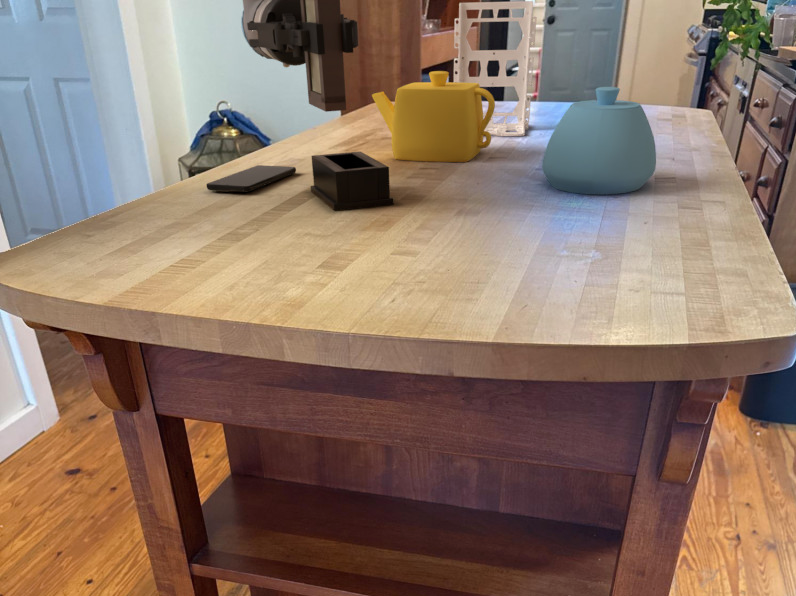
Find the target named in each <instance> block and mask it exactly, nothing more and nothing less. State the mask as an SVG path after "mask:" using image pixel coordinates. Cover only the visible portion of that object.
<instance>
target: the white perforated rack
mask: <svg viewBox="0 0 796 596" xmlns="http://www.w3.org/2000/svg"><path fill="white" fill-rule="evenodd" d="M458 6H459V8H458V17H457V18H454V34H453V35H454V37H453V39H454V43H453V48H454V49H457V50H458V52H457V53H458V55H457V57H455V58H453V82H455V83H479V85H480V88H488V87H489V88H491V87H492V88H494V87H497V88H499V87H500V88H501V87H502V88H503V87H506V88H507V87H514V91H515V92H516V95H517V98H518V101H517V103H516V105H515V107H514V109H513V111H512V112H493V115H492V117H491V119H490V121H489V123H488V125H487V127H486V128H485V130H484V131H487V132H489V133H490V135H491V136H495V137H522V136H525V135H526V131H528V130H529V128H530V127H529V126H530V125H529V123H530V115H531V114H530V113H531V102H532V101H531V100H532V96H531V95H528V87H532V85H533V71H534V57H533V56H530V54H531V53H530V52H531V48H535V45H536V44H535V43H536V31H537V16H533V8H534V1H533V0H522V1H521V0H520V1H519V0H518V1H483V2H482V1H479V2H478V1H477V2H459V4H458ZM519 9H520V10H522V9H524V13H523V17H521V16H520V17H513V10H519ZM470 10H471V11H475V10H479V11H478V16H477V18H476V17H475V18H474V17H473V18H468V12H467V11H470ZM483 10H492V14H493V17H482V13H483ZM499 10H509V17H498V14H499ZM533 20H534V21H533ZM457 21H458V23H457ZM495 22H499V23H500V22H517V23H518V25H519V28H520V31H521V32H522V35H523V36H522V37H521V39H520V42H519V44H518V45H517V47H516V49H492V50H491V49H489V50H488V49H485V50H484V49H483V50H480V49H479V50H473V49H472V48H471V45H470V43H469V41H468V38H467V35H468V33H469V31H470V29H471V27H472V25H473V23H495ZM532 32H533V33H532ZM457 33H458V34H457ZM456 44H457V45H456ZM530 60H532V61H530ZM456 61H457V62H456ZM489 61H498V66H499V70H498V75H497V76H489V75H488V65H489ZM508 61H517V65H518V69H517V73H516V75H515V76H511V75H510V76H507V70H506V68H507V63H508ZM470 62H479V64H480V71H479V75H478V76H470V73H469V66H470ZM530 71H531V72H530ZM529 82H530V83H529ZM528 98H529V99H528ZM527 109H528V110H527ZM486 113H487V112H483V117H485V115H486ZM493 117H504V118H503V123H501V122H500V123H494V118H493ZM508 117H517V123H516V122H515V123H512V122H511V123H506V122H507V118H508Z"/></svg>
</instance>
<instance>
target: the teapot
mask: <svg viewBox="0 0 796 596" xmlns="http://www.w3.org/2000/svg"><path fill="white" fill-rule="evenodd" d="M449 74H450V72H448V71H445V70H434V71H430V72H429V73H428V76H429V79H430V81H427V82H424V81H423V82H422V81H421V82H418V81H417V82H416V81H415V82H411V83H408V84H404V85H402V86H399V87H398V88H397V90H396V93H395V98H394V103H392V101H391V100H390V99H389V97H388V96H387V95H386V94H385V91H380V92H376V93H372V94H371V97H372V99H373V102H374V103H375V105H376V107H377V109H378V111H379V113H380V115H381V116H382V119H383V121H384V122H385V124H386V126H387V128H388V130H389V131H390V134H391V149H392V150H391V151H392V154H393V158H394V160H400V161H411V162H412V161H413V162H429V163H430V162H435V163H436V162H437V163H466V162H470V161H471V160H473V159H474V158H475V157H476V156H477V155H479V153H480V152H481V150H482V149H486V148H488V147H489V146H490V144H491V142H492V135H490V133H489V132H487V131H484V130H485V128H486V127H487V125H488V123H489V121H490V119H491V117H493V116H492V115H493V113H495V107H496V102H495V98H494V96H493V94H492V93H491V92H490V91H489V90H487V89H485V88H484V87H480V85H479V83H457V82H454V81H453V82H450V81H449V82H448V78H449ZM482 97H483V98H485V99H486V100H487V105H488V106H487V110H486V112H485V113H486V115H485V116H483V113H484V109H483V108H484V107H483V100H482ZM484 137H485V139H486V140H485V141H484Z"/></svg>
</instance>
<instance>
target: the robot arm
mask: <svg viewBox="0 0 796 596" xmlns="http://www.w3.org/2000/svg"><path fill="white" fill-rule="evenodd" d="M242 7H243V10H242V12H241V13H242V14H241V17H240V18H241V20H240V24H241V31H242V34H243V38H244V40H245V42H247V44H248V46H249V47H250V48H251V49H252V50H253V52H254V53H256V54H257V55H258V56H259V55H260V57H262V58H265V59H267V60H275V61H278V62H280V63H282V66H283V68H289V67H291V66H293V67H294V66H295V67H296V66H302V65H304V64H305V65H306V62H305V51H307V52H311V53H314V54H325V47H324V33H323V24H318V23H311V22H302V15H301V3H300V0H242ZM341 28H342V45H343V53H345V54H352V53H353V54H354V49H356V48H357V47H359V26H358V21H357V20H355V19H350V18H348V17H345V13H341Z"/></svg>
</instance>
